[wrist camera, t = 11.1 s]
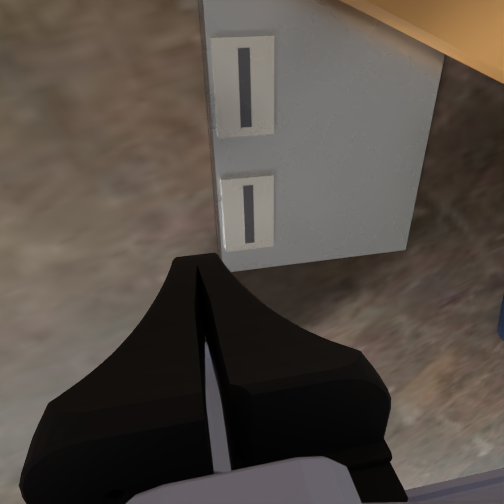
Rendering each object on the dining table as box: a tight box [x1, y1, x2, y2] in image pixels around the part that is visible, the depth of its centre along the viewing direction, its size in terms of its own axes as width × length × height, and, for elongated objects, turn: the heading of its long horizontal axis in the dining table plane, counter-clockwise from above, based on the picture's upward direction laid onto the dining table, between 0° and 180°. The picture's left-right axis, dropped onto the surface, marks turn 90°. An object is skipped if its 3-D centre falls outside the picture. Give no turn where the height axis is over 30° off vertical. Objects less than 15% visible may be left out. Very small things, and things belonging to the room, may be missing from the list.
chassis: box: [198, 0, 445, 272], centre depth 20 cm, size 14×11×3 cm
